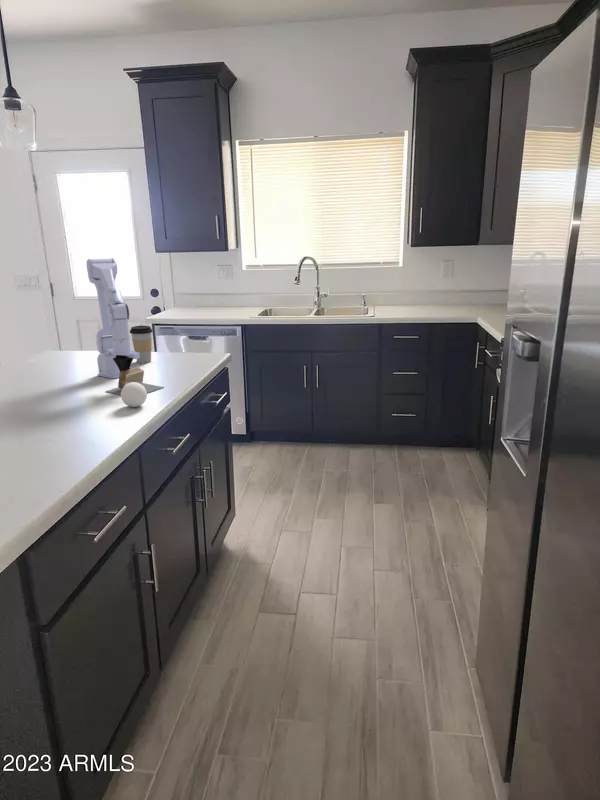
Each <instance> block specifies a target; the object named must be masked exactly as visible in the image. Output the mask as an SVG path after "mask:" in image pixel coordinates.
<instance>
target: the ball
mask: <svg viewBox="0 0 600 800" xmlns="http://www.w3.org/2000/svg"><path fill="white" fill-rule="evenodd" d="M147 396H148V394H147V392H146V389H145V388H144V386H143V385H141V384H139V383H136V382H131V383H128V384H126V385H125V386H124V387H123V389H122V391H121V395H120V397H121V400H122V402H123V404H124V405H125V406H128V407H131V408H136V407H140V406H142V405H143V404H144V403H145V402H146V399H147Z"/></svg>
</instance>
